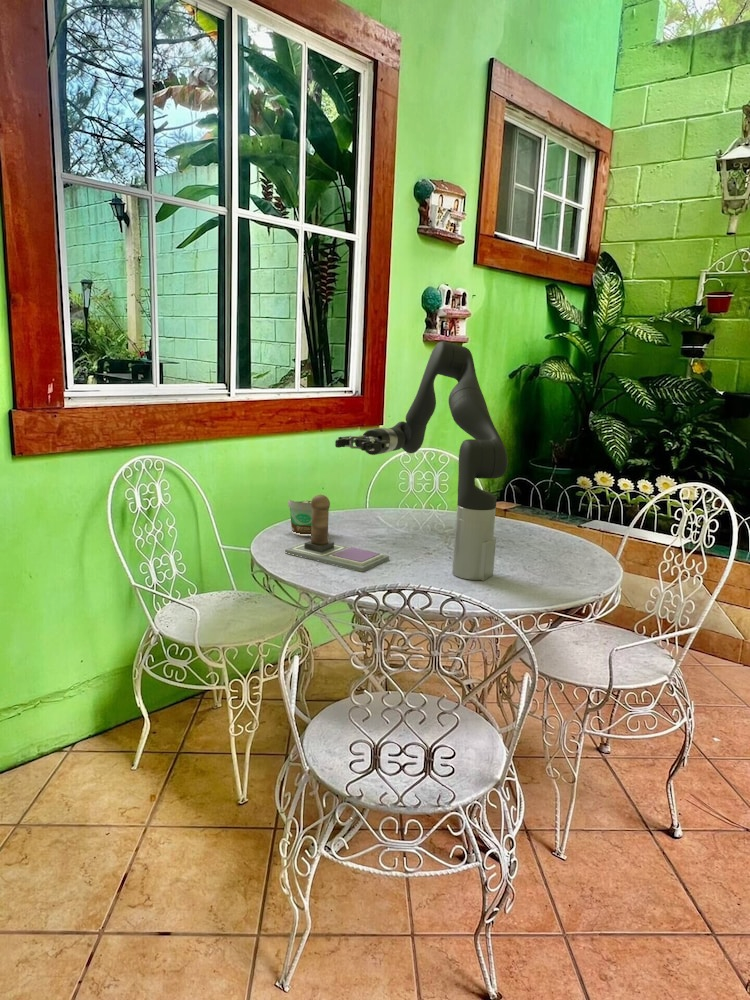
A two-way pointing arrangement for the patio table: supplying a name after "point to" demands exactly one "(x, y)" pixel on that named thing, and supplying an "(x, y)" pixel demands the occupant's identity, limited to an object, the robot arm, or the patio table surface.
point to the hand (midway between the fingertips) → (349, 445)
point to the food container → (300, 516)
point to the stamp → (319, 525)
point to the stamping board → (342, 556)
